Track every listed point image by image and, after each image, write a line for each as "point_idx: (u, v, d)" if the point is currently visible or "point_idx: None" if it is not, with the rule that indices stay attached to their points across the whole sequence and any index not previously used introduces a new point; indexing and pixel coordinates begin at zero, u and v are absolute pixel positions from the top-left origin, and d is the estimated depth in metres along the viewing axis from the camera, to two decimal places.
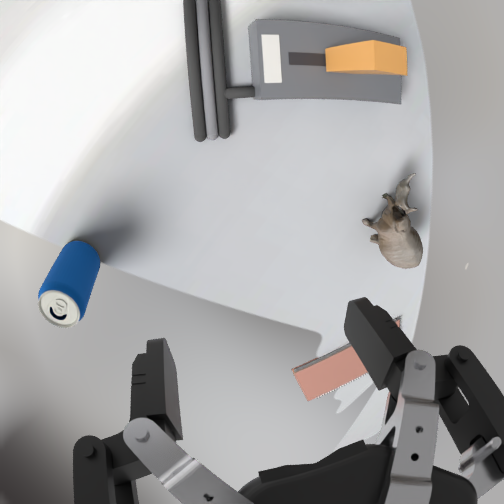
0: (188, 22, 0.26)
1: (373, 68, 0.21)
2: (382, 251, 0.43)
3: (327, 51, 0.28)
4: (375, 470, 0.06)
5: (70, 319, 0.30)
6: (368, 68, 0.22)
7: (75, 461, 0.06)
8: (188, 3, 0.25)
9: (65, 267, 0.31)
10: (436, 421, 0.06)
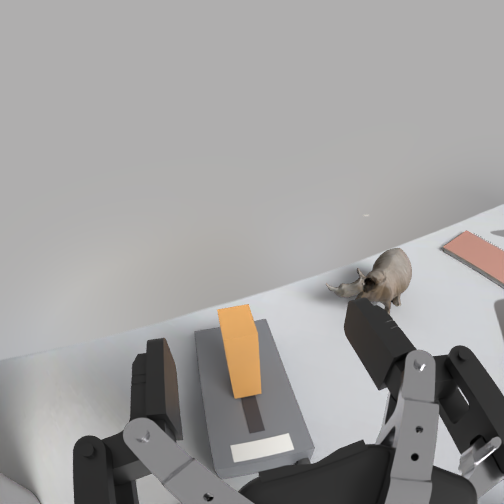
0: None
1: (256, 336, 0.25)
2: (406, 285, 0.42)
3: (238, 395, 0.30)
4: (375, 470, 0.06)
5: None
6: (256, 342, 0.26)
7: (75, 461, 0.06)
8: None
9: None
10: (436, 421, 0.06)
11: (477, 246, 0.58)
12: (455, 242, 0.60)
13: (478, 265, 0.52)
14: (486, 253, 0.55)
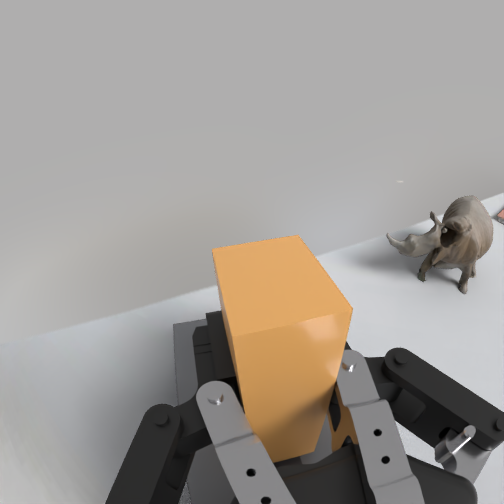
0: None
1: (344, 318, 0.07)
2: (490, 243, 0.25)
3: None
4: None
5: None
6: (341, 338, 0.08)
7: (142, 424, 0.08)
8: None
9: None
10: (390, 416, 0.07)
11: None
12: None
13: None
14: None
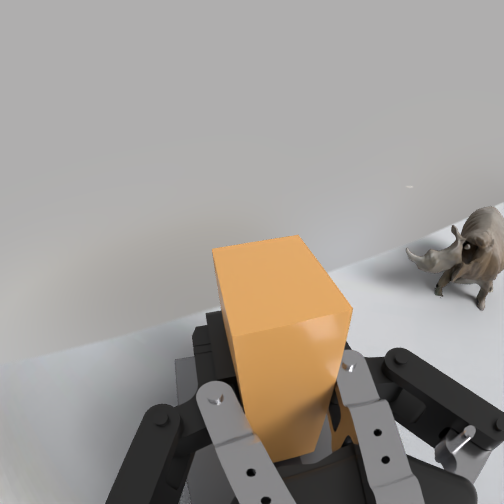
0: None
1: (344, 317, 0.07)
2: None
3: None
4: None
5: None
6: (341, 338, 0.08)
7: (142, 424, 0.08)
8: None
9: None
10: (391, 416, 0.07)
11: None
12: None
13: None
14: None
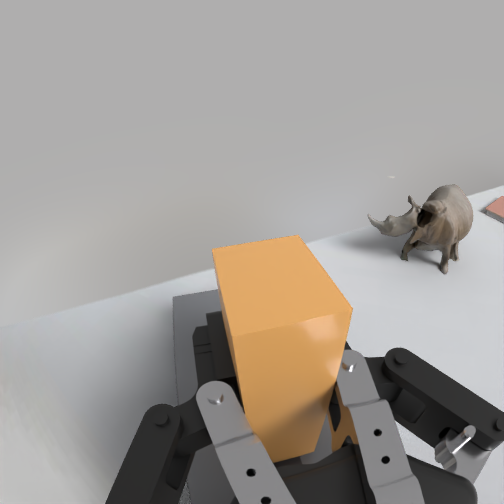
0: None
1: (344, 318, 0.07)
2: (468, 227, 0.28)
3: None
4: None
5: None
6: (341, 338, 0.08)
7: (142, 424, 0.08)
8: None
9: None
10: (391, 416, 0.07)
11: None
12: (496, 205, 0.45)
13: None
14: None
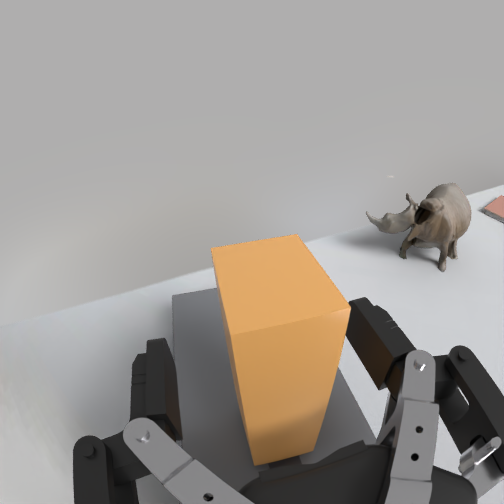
0: None
1: (343, 316, 0.07)
2: (466, 225, 0.29)
3: (262, 461, 0.12)
4: (375, 470, 0.06)
5: None
6: (340, 337, 0.08)
7: (75, 461, 0.06)
8: None
9: None
10: (436, 420, 0.06)
11: None
12: (495, 204, 0.45)
13: None
14: None
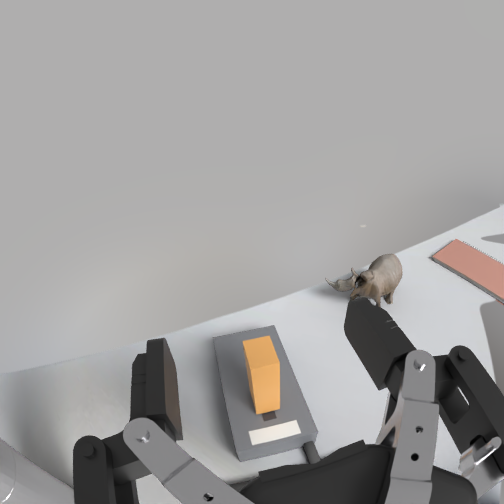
0: None
1: (278, 364, 0.29)
2: (394, 286, 0.50)
3: (259, 411, 0.33)
4: (375, 470, 0.06)
5: None
6: (278, 368, 0.29)
7: (75, 461, 0.06)
8: None
9: None
10: (436, 420, 0.06)
11: (465, 254, 0.64)
12: (444, 251, 0.66)
13: (465, 273, 0.58)
14: (474, 261, 0.61)
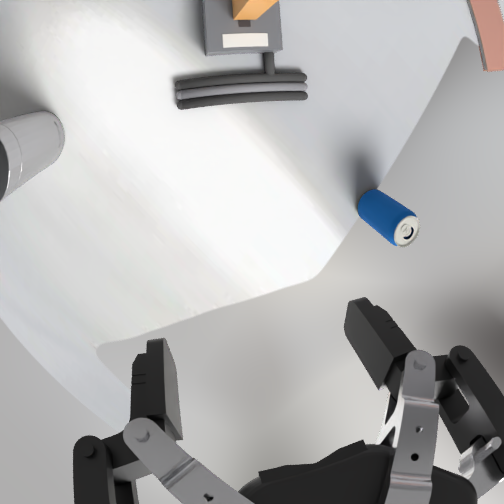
0: (205, 103, 0.38)
1: (276, 0, 0.22)
2: None
3: (237, 18, 0.29)
4: (375, 470, 0.06)
5: (415, 225, 0.44)
6: (274, 2, 0.23)
7: (75, 461, 0.06)
8: (185, 105, 0.37)
9: (379, 217, 0.46)
10: (436, 421, 0.06)
11: None
12: None
13: (473, 5, 0.32)
14: (488, 6, 0.32)
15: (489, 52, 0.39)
